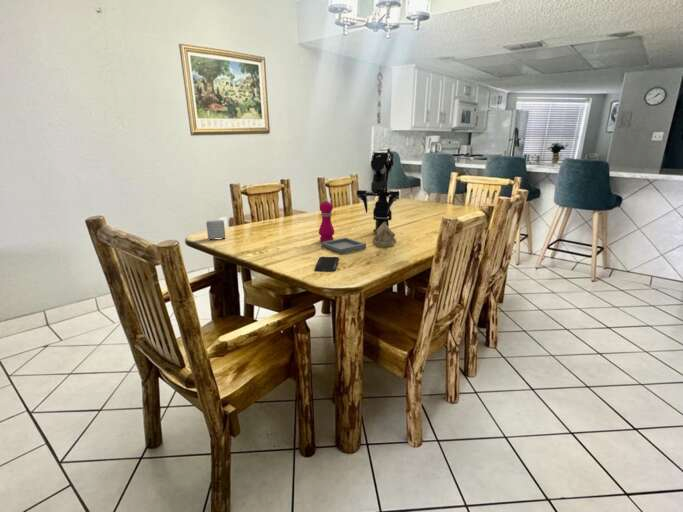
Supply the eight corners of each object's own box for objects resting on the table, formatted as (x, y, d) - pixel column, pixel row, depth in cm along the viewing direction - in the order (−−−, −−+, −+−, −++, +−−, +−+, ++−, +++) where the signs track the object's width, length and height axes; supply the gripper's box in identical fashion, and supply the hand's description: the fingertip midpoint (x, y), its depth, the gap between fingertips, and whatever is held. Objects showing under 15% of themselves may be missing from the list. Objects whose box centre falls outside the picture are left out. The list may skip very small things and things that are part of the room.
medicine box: (225, 237, 177) (223, 219, 174) (225, 239, 173) (223, 221, 170) (208, 238, 175) (206, 220, 172) (208, 240, 171) (206, 222, 168)
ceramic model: (371, 239, 173) (372, 218, 170) (395, 239, 173) (395, 218, 170) (372, 247, 160) (373, 225, 157) (398, 247, 160) (399, 225, 157)
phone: (339, 257, 144) (335, 269, 129) (339, 259, 144) (335, 272, 130) (319, 256, 144) (313, 269, 130) (319, 259, 145) (313, 272, 130)
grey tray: (321, 247, 160) (321, 242, 159) (345, 241, 168) (345, 237, 168) (340, 254, 149) (340, 249, 149) (365, 248, 158) (366, 243, 157)
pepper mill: (332, 243, 166) (332, 199, 160) (317, 242, 167) (316, 199, 161) (335, 239, 173) (335, 197, 167) (321, 238, 174) (320, 197, 168)
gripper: (356, 172, 156) (353, 207, 154) (399, 173, 152) (397, 209, 150) (359, 180, 166) (357, 213, 165) (400, 181, 163) (398, 215, 161)
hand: (376, 213), depth 160 cm, fingers open, 9 cm apart
